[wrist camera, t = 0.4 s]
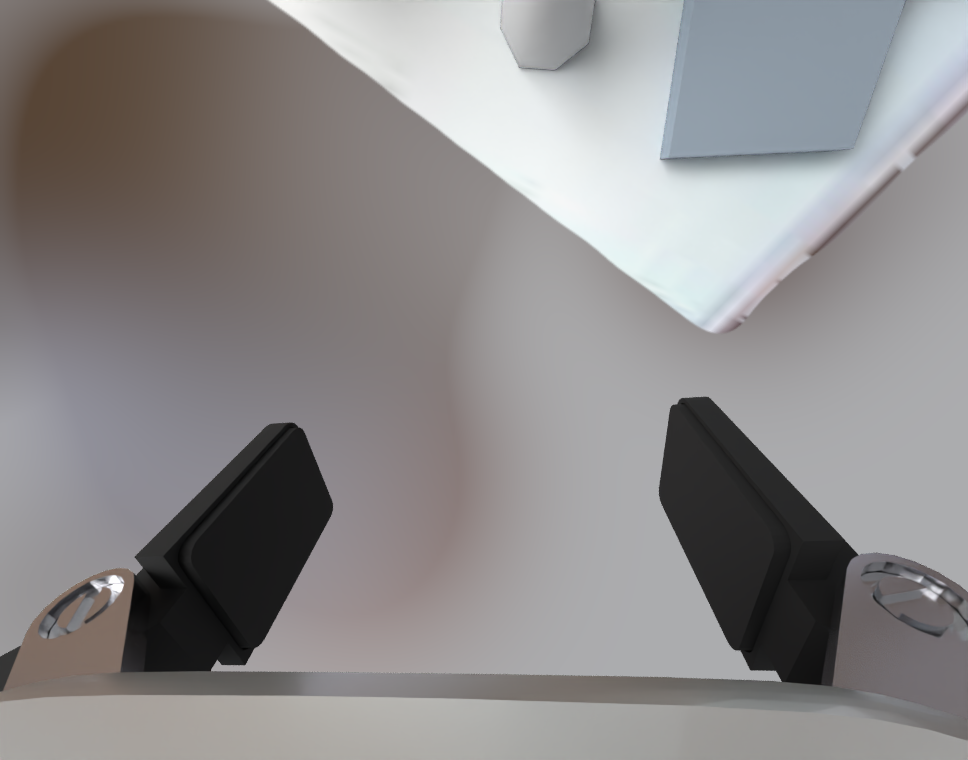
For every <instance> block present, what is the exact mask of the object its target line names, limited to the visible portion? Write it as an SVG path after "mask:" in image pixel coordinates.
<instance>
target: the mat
mask: <svg viewBox="0 0 968 760" xmlns="http://www.w3.org/2000/svg"><path fill="white" fill-rule="evenodd" d="M905 1H906V0H684V6H683V12H682V19H681V26H680V32H679V39H678V45H677V52H676V58H675V65H674V71H673V78H672V84H671V91H670V97H669V104H668V110H667V117H666V123H665V130H664V136H663V143H662V149H661V156H660V159H674V158H694V157H715V156H736V155H757V154H778V153H799V152H820V151H836V150H845V149H853V148H854V145H855V142H856V139H857V137H858V134H859V131H860V128H861V125H862V122H863V120H864V117H865V114H866V111H867V108H868V106H869V103H870V100H871V97H872V94H873V91H874V89H875V86H876V83H877V80H878V77H879V75H880V72H881V69H882V66H883V63H884V60H885V58H886V55H887V52H888V49H889V46H890V44H891V41H892V38H893V35H894V32H895V29H896V27H897V24H898V21H899V18H900V15H901V13H902V10H903V7H904V4H905Z"/></svg>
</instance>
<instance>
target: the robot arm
mask: <svg viewBox="0 0 968 760" xmlns="http://www.w3.org/2000/svg"><path fill="white" fill-rule="evenodd" d="M659 496H660V501H661V504H662V506H663V508H664V510H665V512H666V514H667V516H668V519H669V521H670V523H671V525H672V527H673V529H674V531H675V533H676V535H677V537H678V539H679V542H680V544H681V545H682V548H683V550H684V552H685V554H686V556H687V558H688V560H689V562H690V564H691V566H692V568H693V571H694V573H695V575H696V577H697V579H698V581H699V583H700V585H701V587H702V589H703V591H704V593H705V596H706V598H707V600H708V602H709V604H710V606H711V608H712V610H713V612H714V614H715V616H716V618H717V621H718V623H719V625H720V627H721V629H722V631H723V633H724V635H725V637H726V639H727V641H728V643H729V645H730V646H731V647H732V648H733V649H734V650H741V652H742V654H743V656H744V658H745V660H746V662H747V664H748V666H749V668H750V670H766V671H768V670H770V671H773V670H774V671H776V672H777V673H778V675H779V677H780V679H781V681H782V682H776V681H755V680H728V679H700V678H699V679H698V678H672V677H630V676H572V675H571V676H569V675H516V674H514V675H512V674H442V673H441V674H440V673H439V674H438V673H359V672H221V671H220V672H217V671H214V672H213V671H211V669H212V667H213V666H214V664H215V662H216V661H217V660H218V661H219V662H220V663H221V665H246V663H247V661H248V659H249V657H250V656H251V654H252V652H253V650H254V648H256V647H258V646H259V645H260V644H261V643H262V642H263V640H264V639H265V637H266V635H267V633H268V632H269V629H270V628H271V626H272V624H273V622H274V620H275V619H276V617H277V615H278V613H279V611H280V609H281V607H282V606H283V604H284V602H285V600H286V598H287V596H288V595H289V593H290V591H291V589H292V587H293V585H294V583H295V582H296V580H297V578H298V576H299V574H300V572H301V570H302V568H303V567H304V565H305V563H306V561H307V559H308V558H309V556H310V554H311V552H312V550H313V548H314V546H315V545H316V542H317V541H318V539H319V537H320V535H321V533H322V532H323V530H324V528H325V526H326V524H327V522H328V521H329V518H330V517H331V514H332V511H333V503H332V499H331V497H330V495H329V492H328V490H327V487H326V485H325V482H324V480H323V478H322V475H321V473H320V470H319V467H318V465H317V462H316V460H315V457H314V455H313V452H312V450H311V448H310V445H309V443H308V440H307V438H306V435H305V433H304V431H303V429H301V428H298V426H297V425H296V424H295V423H277V424H270V425H268V426H266V427H265V428H264V429H263V430H262V432H261V433H259V434H258V435H257V436H256V437H255V438H254V439H253V440H252V441H251V442H250V443H249V444H248V445H247V446H246V447H245V448H244V449H243V450H242V451H241V452H240V453H239V454H238V455H237V456H236V457H235V458H234V459H233V460H232V461H231V462H230V463H229V464H228V465H227V466H226V467H225V468H224V469H223V470H222V471H221V472H220V473H219V474H218V475H217V476H216V477H215V478H214V479H213V480H212V481H211V482H210V483H209V484H208V485H207V486H206V487H205V488H204V489H203V490H202V491H201V492H200V493H199V494H198V495H197V496H196V497H195V498H194V499H193V500H192V501H191V502H190V503H188V505H187V506H185V507H184V509H182V510H181V511H180V512H179V513H178V515H176V516H175V517H174V518H173V520H171V521H170V522H169V524H167V525H166V526H165V527H164V528H163V529H162V530H161V531H160V532H159V533H158V534H157V535H156V536H155V537H154V538H153V539H152V540H151V541H150V542H149V543H148V544H147V545H146V546H145V547H144V548H143V549H142V550H141V551H140V552H139V553H138V554H137V555H136V556H135V558H136V559H137V561H138V562H139V563H140V564H141V566H142V567H143V569H142V570H141V571H140V572H139V573H138V574H137V575H135V574H134V573H133V572H132V571H130V570H129V569H127V568H115V569H110V570H106V571H103V572H100V573H98V574H95V575H93V576H91V577H89V578H87V579H85V580H83V581H81V582H79V583H77V584H76V585H74V586H72V587H71V588H70V589H68V590H67V591H65V592H64V593H62V594H61V595H59V596H58V597H57V598H56V599H55V600H54V601H52V602H51V603H50V604H49V605H48V606H46V607H45V608H44V609H43V610H42V611H41V613H40V614H39V615H38V616H37V617H36V618H35V619H34V621H33V622H32V624H31V625H30V627H29V629H28V630H27V632H26V634H25V637H24V639H23V642H22V645H21V646H19V647H17V648H16V649H14V650H12V651H10V652H8V653H6V654H4V655H2V656H1V657H0V760H968V592H967V591H966V590H965V589H963V588H962V587H961V586H960V585H958V584H957V583H955V582H953V581H952V580H950V579H948V578H946V577H945V576H944V575H942V574H940V573H939V572H937V571H934V570H932V569H930V568H928V567H926V566H924V565H921V564H919V563H917V562H915V561H911V560H908V559H905V558H902V557H898V556H895V555H889V554H882V553H868V554H860V555H858V554H857V553H856V552H855V551H854V550H853V549H852V548H851V546H850V545H849V544H848V543H847V542H846V541H845V540H844V539H843V538H842V537H841V535H840V534H839V533H838V532H837V531H836V530H835V529H834V528H833V527H832V526H831V525H830V524H829V523H828V522H827V521H826V520H825V519H824V518H823V517H822V515H821V514H820V513H819V512H818V511H817V510H816V509H815V508H814V507H813V506H812V505H811V504H810V503H809V502H808V501H807V500H806V499H805V498H804V497H803V495H802V494H801V493H800V492H799V491H798V490H797V489H796V488H795V487H794V486H793V485H792V484H791V483H790V482H789V481H788V480H787V479H786V478H785V476H783V474H782V473H781V472H780V471H779V470H778V469H777V468H776V467H775V466H774V465H773V464H772V463H771V462H770V461H769V460H768V459H767V458H766V457H765V456H764V455H763V453H762V452H761V451H759V449H758V448H757V447H756V446H755V445H754V444H753V443H752V442H751V441H750V440H749V439H748V438H747V437H746V436H745V434H744V433H743V432H742V431H741V430H740V429H739V428H738V427H737V426H736V425H735V424H734V423H733V422H732V421H731V420H730V419H729V418H728V417H727V415H726V414H725V413H724V412H723V411H722V410H721V409H720V408H719V407H718V406H717V405H716V404H715V403H714V402H713V401H712V400H711V399H710V398H709V397H693V398H681V399H680V400H679V402H678V404H677V405H672V406H671V408H670V414H669V421H668V428H667V435H666V443H665V449H664V457H663V464H662V471H661V478H660V486H659Z"/></svg>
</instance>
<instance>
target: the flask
mask: <svg viewBox="0 0 968 760" xmlns="http://www.w3.org/2000/svg"><path fill="white" fill-rule="evenodd" d="M594 5H595V0H502V9H501V25H500V28H501V31H502V33H503V35H504V37H505V39H506V41H507V43H508V45H509V47H510V49H511V51H512V53H513V55H514V57H515V60H516V62H517V64H518V66H519V68H533V69H548V70H556V69H557V68H559V67H560V66H561V65H562V64H564V63H565V62H566V61H567V60H569V59H570V58H571V57H572V56H574V55H575V54H576V53H577V52H579V51H580V50H581V49H582V48H584V47H585V46H586V45H587V44H589V38H590V31H591V25H592V18H593V11H594Z"/></svg>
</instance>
